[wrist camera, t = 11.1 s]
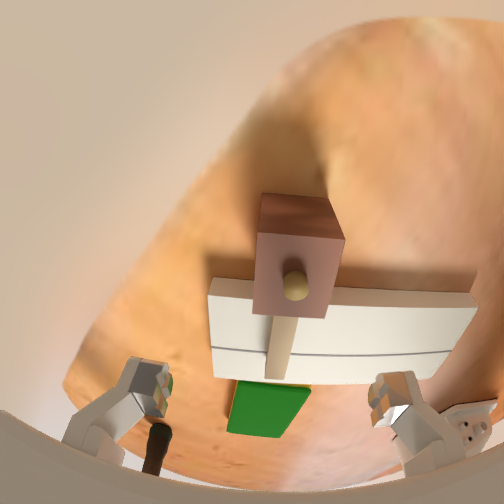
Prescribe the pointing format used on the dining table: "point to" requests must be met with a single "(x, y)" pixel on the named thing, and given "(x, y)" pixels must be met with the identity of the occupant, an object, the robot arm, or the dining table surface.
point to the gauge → (294, 268)
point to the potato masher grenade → (156, 448)
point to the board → (339, 334)
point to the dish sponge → (265, 407)
